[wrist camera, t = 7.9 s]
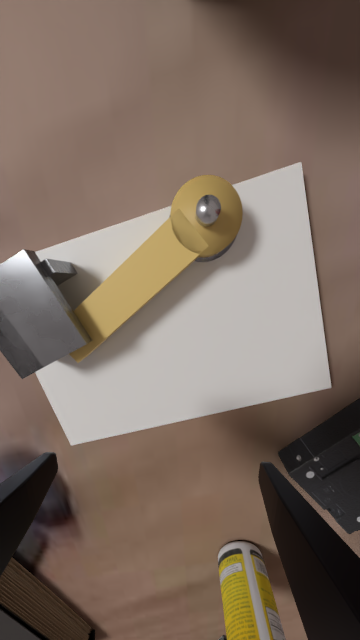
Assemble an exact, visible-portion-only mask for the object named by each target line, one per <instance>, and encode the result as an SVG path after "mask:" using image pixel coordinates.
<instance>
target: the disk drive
mask: <svg viewBox="0 0 360 640" xmlns="http://www.w3.org/2000/svg"><path fill="white" fill-rule="evenodd" d="M278 455H279V457H280V459H281V461H282V463H283V464H284V466H285V468H286V470H287V472H288V474H289V475H290V476H291V477H292V478H293V479H294V480H295V481H296V482H297V483H298V484H299V485H300V486H301V487H302V488H303V489H304V490H305V491H306V492H307V493H308V494H309V495H310V496H311V497H312V498H313V499H314V500H315V501H316V502H317V503H318V504H319V505H320V506H321V507H322V508H323V509H324V510H325V509H327V510H328V512H329V513H330V514H331V515H332V516H333V517H334V519H335V520H336V522H337V523H338V524H339V525H340V526H341V527H342V528H343V529H344V530H345V531H346V532H347V533H348V534H351V533H353V532H354V531H358V530H360V399H358V400H357V401H355V402H354V403H352V404H351V405H349V406H348V407H346V408H345V409H343V410H341V411H340V412H338V413H337V414H335V415H334V416H332V417H331V418H329V419H328V420H326V421H325V422H323V423H322V424H320V425H319V426H317V427H316V428H314V429H313V430H311V431H310V432H308V433H307V434H305V435H304V436H302V437H301V438H298V439H297V440H295V441H294V442H292V443H291V444H289V445H288V446H287V447H285V448H284V449H282V450H281V451H279V452H278Z"/></svg>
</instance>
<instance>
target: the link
mask: <svg viewBox="0 0 360 640" xmlns="http://www.w3.org/2000/svg"><path fill="white" fill-rule="evenodd" d="M205 195H214V196H215V197H217V198H218V200H219V201H220V204H221V211H220V214H219V216H218V218H217V220H216V222H215V223H214V224H213V225H211V226H209V227H204V226H201V225H200V224H199V223H198V222H197V220H196V216H195V213H196V206H197V203H198V201H199V199H200V198H201V197H203V196H205ZM242 216H243V209H242V203H241V200H240V197H239V195H238V193H237V191H236V190H235V188H234V187H233V186H232V185H231V184H230V183H229V182H228V181H226V180H225V179H223V178H221V177H218V176H214V175H202V176H198V177H195V178H193V179H191V180H189V181H188V182H186V183H185V184H184V185H183V186H182V187H181V188H180V189H179V191H178V192H177V194H176V196H175V198H174V200H173V203H172V206H171V212H170V218H169V219H167V220H166V221H165V222H164V223H163V224H162V225H161V226H160V227H159V228H158V229H157V230H156V231H155V232H154V233H153V234H152V235H151V236H150V237H149V238H148V239H147V240H146V241H145V242H144V243H143V244H142V245H141V246H140V247H139V248H138V249H137V250H136V251H135V252H134V253H133V254H132V255H130V256H129V257H128V258H127V259H126V260H125V261H124V262H123V263H122V264H121V265H120V266H119V267H118V268H117V269H116V270H115V271H114V272H113V273H112V274H111V275H110V276H109V277H108V278H107V279H106V280H105V281H104V282H103V283H102V284H101V285H100V286H99V287H98V288H97V289H96V290H95V291H93V292H92V293H91V294H90V295H89V296H88V297H87V298H86V299H85V300H84V301H83V302H82V303H81V304H80V305H79V306H78V307H77V308H76V309H75V310H74V313H75V314H76V316H77V317H78V319H79V320H80V322H81V323H82V325H83V326H84V328H85V330H86V331H87V333H88V334H89V336H90V337H91V339H92V340H93V341H91V342H89V343H88V344H86V345H84V346H82V347H81V348H79V349H77V350H75V351H73V352H71V353H69V355H70V356H71V357H72V358H73V359H74V360H75V361H76V362H77V363H79V362H80V361H81V360H83V359H84V358H85V357H87V356H88V355H89V354H91V353H92V352H93V351H94V350H95V349H96V348H97V347H98V346H99V345H101V344H102V343H103V342H104V341H105V340H106V339H107V338H108V337H110V336H111V335H112V334H113V333H114V332H115V331H116V330H117V329H119V328H120V327H121V326H122V325H123V324H124V323H125V322H126V321H127V320H129V319H130V318H131V317H132V316H133V315H134V314H135V313H136V312H138V311H139V310H140V309H141V308H142V307H143V306H144V305H145V304H147V303H148V302H149V301H150V300H151V299H152V298H153V297H154V296H155V295H157V294H158V293H159V292H160V291H161V290H162V289H163V288H164V287H166V286H167V285H168V284H169V283H170V282H171V281H172V280H173V279H175V278H176V277H177V276H178V275H179V274H180V273H181V272H182V271H183V270H185V269H186V268H187V267H188V266H189V265H190V264H191V263H192V262H194V261H195V260H196V259H197V258H198V257H210V256H213V255H216V254H218V253H219V252H221V251H222V250H223V249H224V248H226V247H227V246H228V245H229V244H230V243H231V242H232V241H233V240H234V238H235V237H236V235H237V234H238V231H239V229H240V226H241V223H242Z"/></svg>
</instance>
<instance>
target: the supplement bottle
mask: <svg viewBox="0 0 360 640" xmlns="http://www.w3.org/2000/svg"><path fill="white" fill-rule="evenodd" d="M218 565H219V575H220V583H221V592H222V601H223V609H224V618H225V626H226V635H227V640H286V639H285V636H284V632H283V628H282V625H281V621H280V617H279V614H278V610H277V607H276V603H275V599H274V596H273V592H272V588H271V585H270V581H269V578H268V574H267V570H266V567H265V563H264V560H263V557H262V554H261V552H260V550H259V549H258V548H257V547H256V546H255V545H253V544H251V543H249V542H245V541H235V542H231V543H228V544H226V545H224V546H223V547H222V548H221V550H220V552H219V554H218Z"/></svg>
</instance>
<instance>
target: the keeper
mask: <svg viewBox="0 0 360 640" xmlns="http://www.w3.org/2000/svg"><path fill="white" fill-rule="evenodd" d="M76 274H78V273H77V272H76V270H75V268H74V267H73V265H72V264H71V262H66V261H59V260H53V259H45V260H43V261H40V259H39V258H38V256H37V255H36V253H35V252H34V251H30V250H25V249H23V250H22V251H20V252H19V253H17V254H16V255H14V256H13V257H11V258H10V259H8V260H7V261H5V262H4V263H2V264H1V265H0V351H1V352H2V353H3V355H4V356H5V357H6V359H7V360H8V361H9V363H10V364H11V365H12V366H13V368H14V369H15V370H16V372H17V373H18V374H19V376H20V377H21V378H22V379H23V378H25V377H27V376H29V375H30V374H32V373H34V372H36V371H38V370H40V369H42V368H43V367H45V366H47V365H49V364H51V363H53V362H55V361H56V360H58V359H60V358H62V357H64V356H66V355H68V354H69V353H71V352H73V351H75V350H77V349H79V348H81V347H82V346H84V345H86V344H88V343H89V342H91V341H93V340H92V339H91V337H90V336H89V334H88V333H87V331H86V330H85V328H84V326H83V325H82V323H81V322H80V320H79V319H78V317H77V316H76V314H75V313H74V311H73V310H72V308H71V307H70V305H69V304H68V302H67V301H66V299H65V297H64V296H63V294H62V293H61V291H60V290H59V288H58V287H57V286H58V285H60V284H61V283H63V282H65V281H66V280H68V279H70V278H71V277H73V276H75V275H76Z"/></svg>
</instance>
